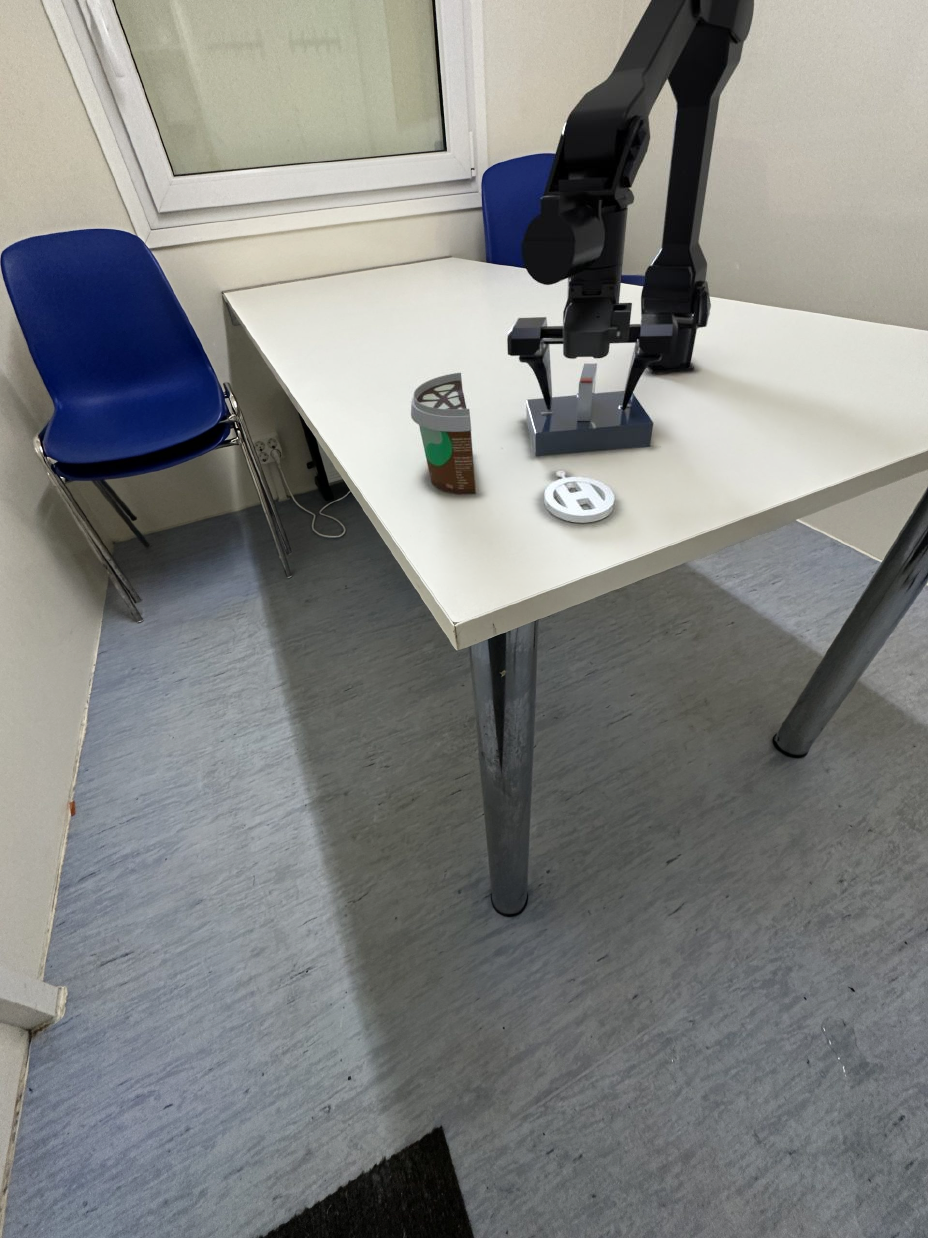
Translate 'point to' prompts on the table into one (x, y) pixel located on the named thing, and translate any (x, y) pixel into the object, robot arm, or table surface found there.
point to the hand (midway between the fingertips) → (585, 408)
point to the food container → (445, 433)
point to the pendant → (579, 499)
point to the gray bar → (586, 392)
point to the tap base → (587, 425)
